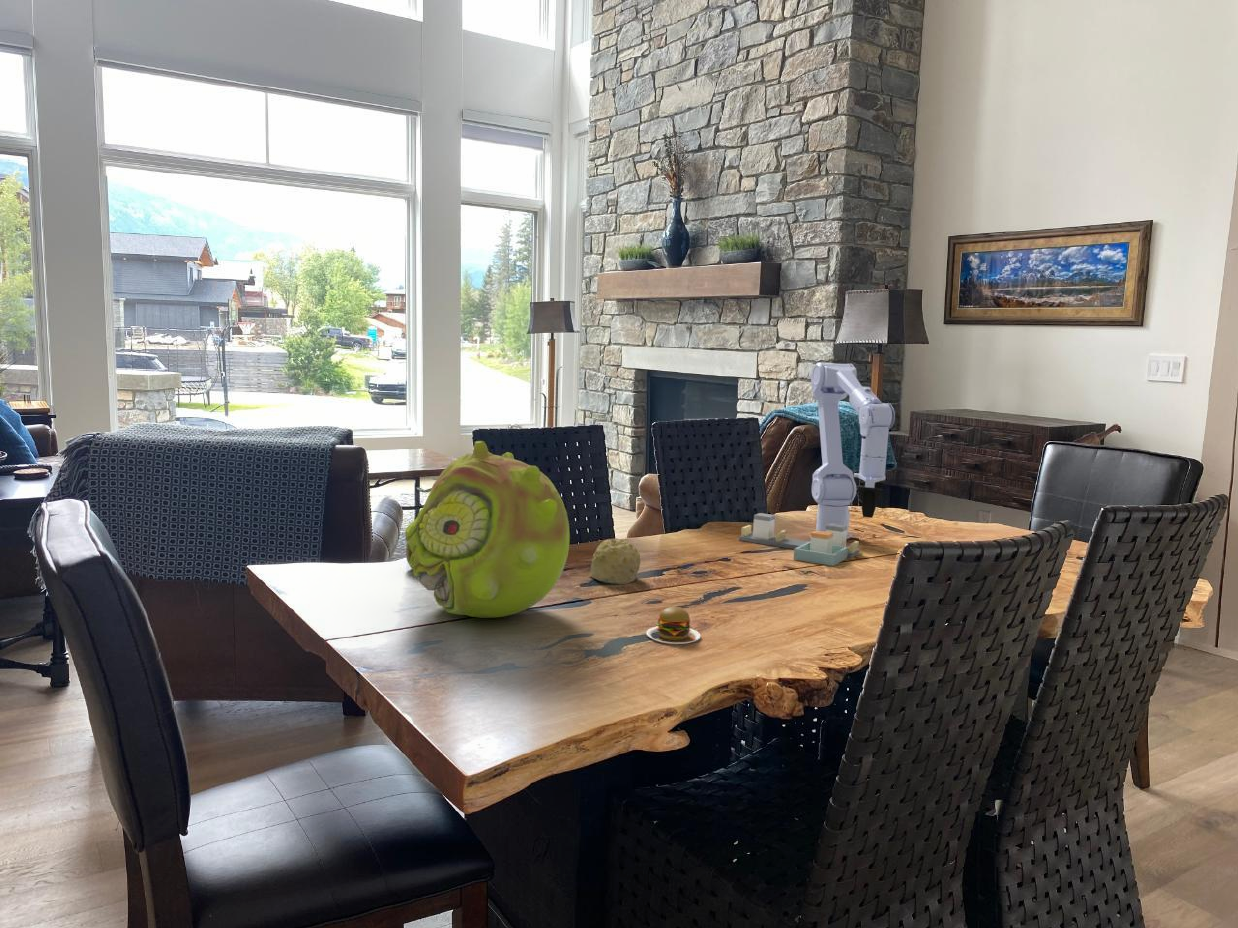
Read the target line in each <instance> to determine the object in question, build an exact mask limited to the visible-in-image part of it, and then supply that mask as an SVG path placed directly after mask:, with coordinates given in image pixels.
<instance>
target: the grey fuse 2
mask: <svg viewBox="0 0 1238 928" xmlns="http://www.w3.org/2000/svg"><path fill="white" fill-rule="evenodd" d="M825 532H831V533H833V542H832V545H837V546H844V547H847V546H846V545H847V539H846V537H847V525H841V524H834V523H830V524H828V525H826V531H825Z"/></svg>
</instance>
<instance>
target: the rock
mask: <svg viewBox="0 0 1238 928" xmlns="http://www.w3.org/2000/svg"><path fill="white" fill-rule="evenodd" d="M640 565H641V554H640V553H639V550H638V548H636V546H634V544H632V543H630V542H629V541H627V540H625V539H620V538H608V539H604V540H603V541H602V542H600V544H599V545H598V546H597V547H596V550H595V551H594V552H593V555H592V559H591V567H590V573H589V575H590V576H589V577H590V578H591V579H594V580H596V581H599V582H602V583H605V584H613V585H627V584H630V583H632V582H634V581H635V580H636V579H637V578H638V577H637V576H638V575H637V573H638V572H639V570H640V567H641V566H640Z"/></svg>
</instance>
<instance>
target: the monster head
mask: <svg viewBox="0 0 1238 928" xmlns="http://www.w3.org/2000/svg"><path fill="white" fill-rule="evenodd" d="M568 517H569V516H568V512H567V509H566V507H565V504H564V502H563V499H562V498H561V496H560V493H559V492H558V490H557V488H556V486H555V484H554V483H553V482H552V481H551V479H549V477H548V476H547V475H545V474H544V473H543V472H542V471H541V470H540V469H539V467H538V466H536V465H530V464H528V463H526V462H524V461H521V460H517V459H515V457H514V454H513V453H512V452H509V451H508V452H507V451H506V452H505V453H502V455H497V454H493V453H491V452H489V449H488V445H487V444H486V442H485V441H484V440H478V441H474V445H473V452H472V453H466V454H464V455H462V456H460V457H458V458H457V459H455V460H453V461H452V462H451V463H450V464H448V466H447V467H445V469H443V470H442V471H441V473H440V474H439V476H438V478H436V480H435V481H434V483H433V484H432V487H431V488H430V491H429V494H428V496H427V499H426V501H425V503H424V504H423V507H422V508H421V509H420V510H419V511H418V514H417V517H416V518H415V519H414V520H413V521H412V522H411V523H410V524H409V525H408V526H407V527H406V528H405V530H404V531H405V539H404V540H405V541H406V545H405V549H406V552H405V556H406V555H407V558H408V561H407V563H408V562H409V563H408V565H409V564H410V565H411V566H412V567H413V569H412V571H413V577H417V581H418V582H419V583H420V585H422V586H423V587H424V588H425V589H426V590H427V591H433V596H434V600H435V602H436V603H437V605H438V606H440V607H442V608H443V609H444V610H445V611H446V612H447V613H449V614H451V615H459V616H460V615H461V616H468V617H473V618H482V619H483V618H484V619H486V618H487V619H488V618H489V619H490V618H502V617H507V616H508V617H509V616H512V615H515V614H518V613H520V612H523V611H527V610H528V609H529V608H531V607H533V606H535V605H536V604H538V603H539V602H540V601H542V600H543V599H544V598H545V597H546V596H547V595H548V594H549V593H550V592H551V591H552V590H553V588H555V585H556V584H557V583H558V581H559V580H560V578H561V576H562V574H563V571H564V568H565V566H566V564H567V559H568V556H569V550H570V549H569V548H570V539H571V538H570V535H571V534H570V523H569V518H568ZM407 558H406V559H407ZM410 565H409V566H410Z"/></svg>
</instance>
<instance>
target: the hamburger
mask: <svg viewBox="0 0 1238 928" xmlns="http://www.w3.org/2000/svg"><path fill="white" fill-rule="evenodd" d="M657 621H658V622H657V623H656V624H655V626H653V627H650V628H648V629H647V630H646V636H647V637H648V638H650V639H651V640H653V641H656V642H659V643H662V644H669V645H685V644H691V643H694V642H696V641H698V640H700V639H701V634H700V632H698V631H697V630H696V629H695V630H694V629H693V628H691V625H690V623H691V622H690V621H691V619H690V615H689V613H688V611H687V610H686V609H684V608H682V607H679V606H668V607H666V608H664V609H662V610H661V612H660V613H659V616H658V619H657ZM655 632H658V635H659V636H660V638H662V639H664V641H663V640H659V639H656V638H653V636H652V634H654V633H655ZM689 634H691V635H692V636H694V637H695V638H694V640H691V641H686V642H685V641H684V642H683V640H685V639H687V638H688V636H689ZM666 640H668V641H666ZM671 641H682V642H671Z"/></svg>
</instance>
